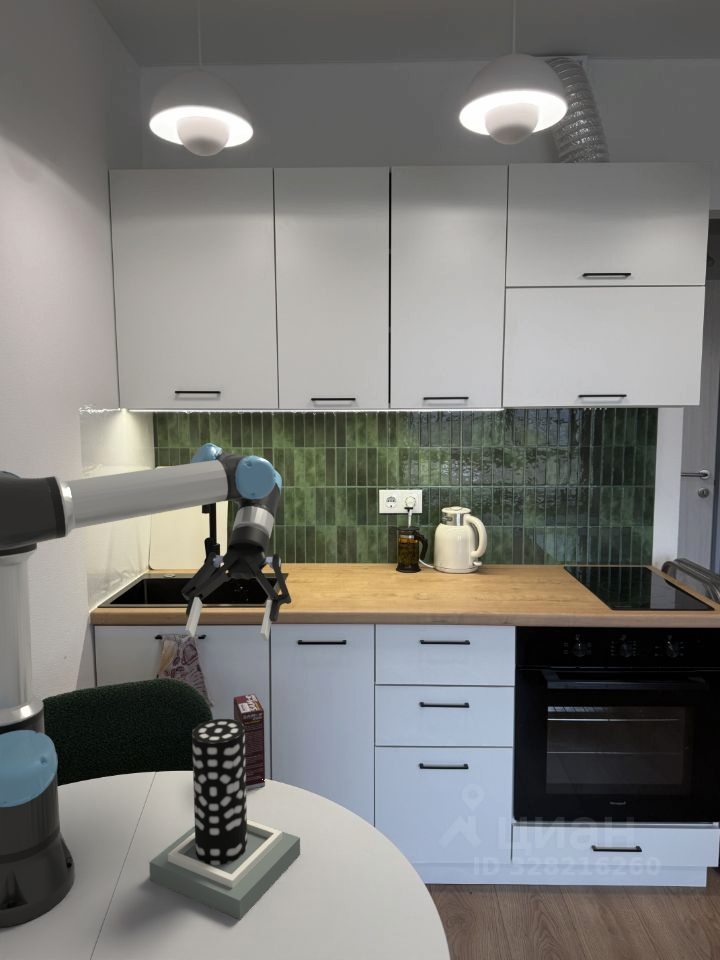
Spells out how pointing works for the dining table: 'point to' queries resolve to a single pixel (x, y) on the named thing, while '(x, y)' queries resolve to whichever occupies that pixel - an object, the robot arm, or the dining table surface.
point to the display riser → (227, 869)
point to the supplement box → (252, 738)
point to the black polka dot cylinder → (219, 791)
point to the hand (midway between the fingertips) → (226, 635)
